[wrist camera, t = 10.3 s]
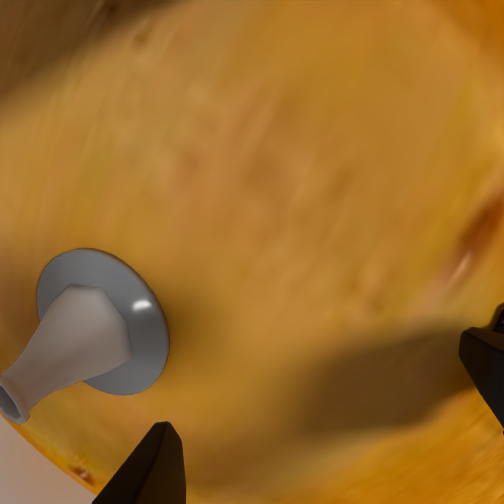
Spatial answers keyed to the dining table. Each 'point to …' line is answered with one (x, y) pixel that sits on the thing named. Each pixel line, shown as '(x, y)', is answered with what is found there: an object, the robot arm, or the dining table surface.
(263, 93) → the dining table surface
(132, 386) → the slate coaster
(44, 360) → the flask
